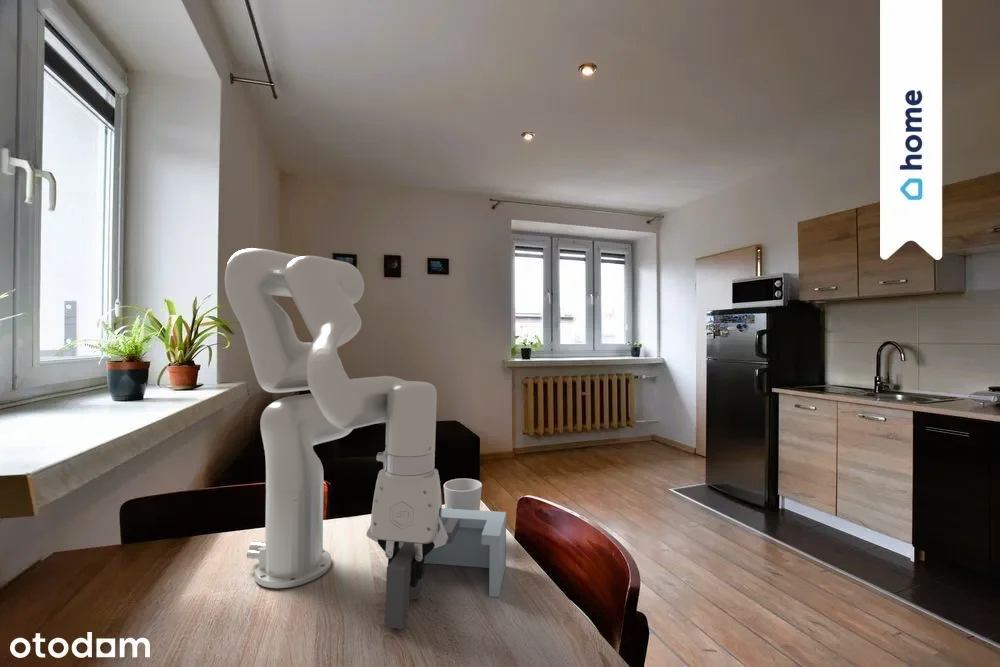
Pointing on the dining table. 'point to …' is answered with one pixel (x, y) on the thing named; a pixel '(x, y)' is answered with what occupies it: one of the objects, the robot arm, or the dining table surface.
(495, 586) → the shelf
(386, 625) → the grey arch block
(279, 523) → the robot arm
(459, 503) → the cup
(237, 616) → the dining table surface
